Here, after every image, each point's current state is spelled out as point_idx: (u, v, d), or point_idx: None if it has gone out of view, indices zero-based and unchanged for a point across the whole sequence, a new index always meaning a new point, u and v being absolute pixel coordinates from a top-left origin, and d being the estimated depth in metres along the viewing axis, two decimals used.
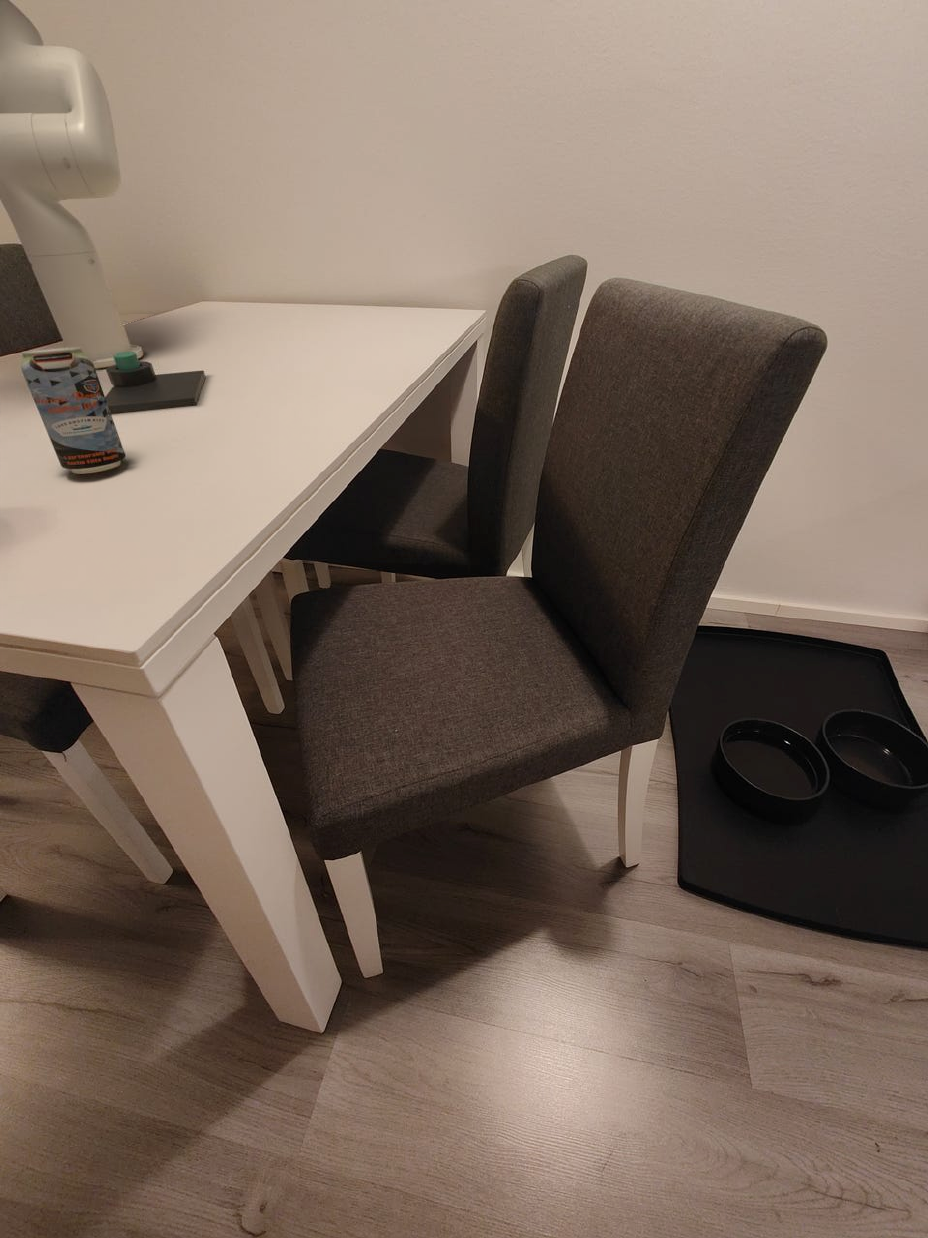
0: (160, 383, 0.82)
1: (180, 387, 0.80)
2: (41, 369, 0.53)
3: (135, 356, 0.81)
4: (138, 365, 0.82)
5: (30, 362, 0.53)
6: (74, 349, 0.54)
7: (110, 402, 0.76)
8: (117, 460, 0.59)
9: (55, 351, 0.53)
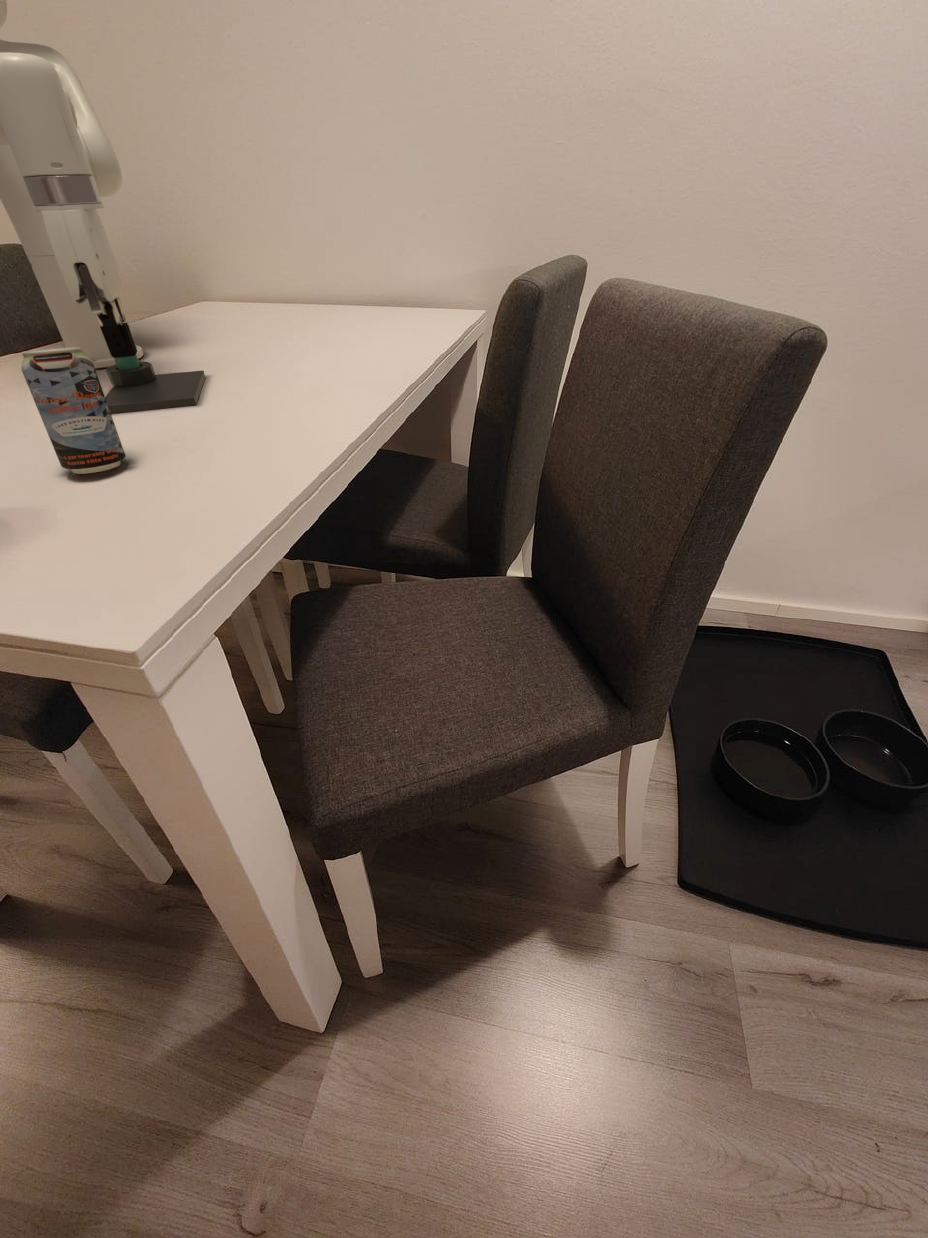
0: (160, 383, 0.82)
1: (180, 387, 0.80)
2: (41, 369, 0.53)
3: (135, 357, 0.81)
4: (138, 366, 0.82)
5: (30, 362, 0.53)
6: (74, 349, 0.54)
7: (110, 402, 0.76)
8: (117, 460, 0.59)
9: (55, 351, 0.53)
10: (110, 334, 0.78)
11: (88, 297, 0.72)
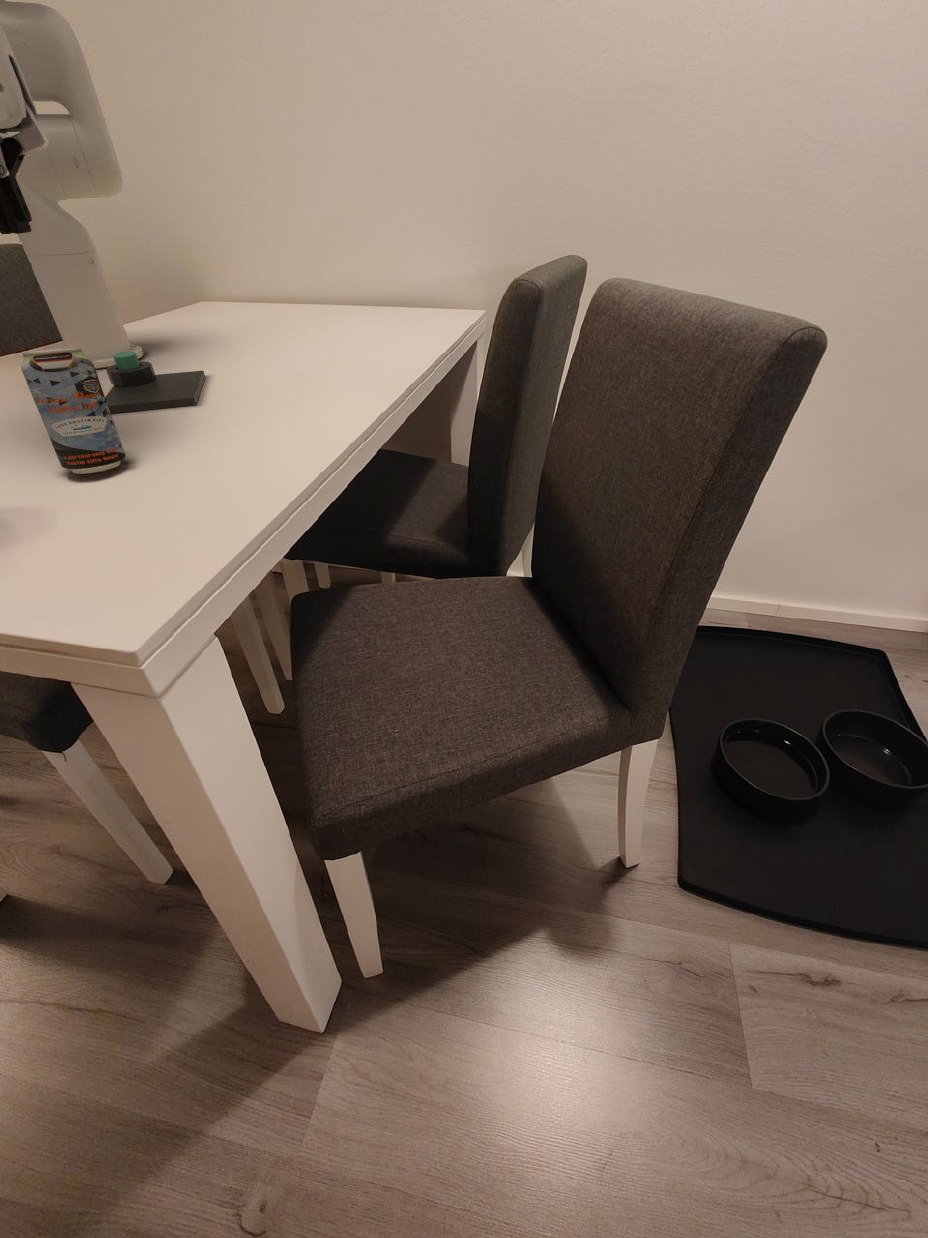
0: (160, 383, 0.82)
1: (180, 387, 0.80)
2: (41, 369, 0.53)
3: (135, 356, 0.81)
4: (138, 365, 0.82)
5: (30, 362, 0.53)
6: (74, 349, 0.54)
7: (110, 402, 0.76)
8: (117, 460, 0.59)
9: (55, 351, 0.53)
10: (15, 190, 0.50)
11: (31, 116, 0.48)
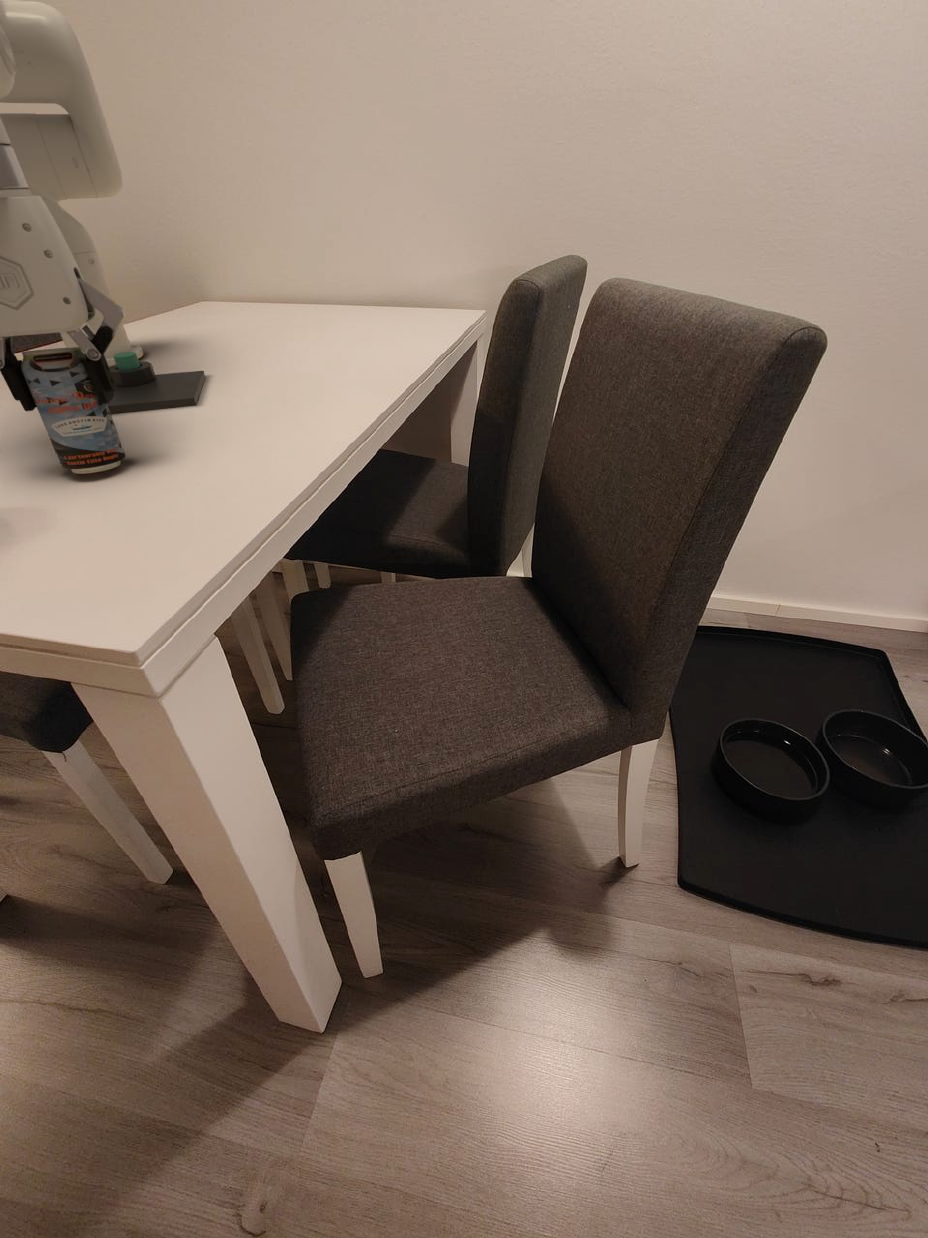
0: (160, 383, 0.82)
1: (180, 387, 0.80)
2: (41, 369, 0.53)
3: (135, 356, 0.81)
4: (138, 365, 0.82)
5: (30, 362, 0.53)
6: (74, 349, 0.54)
7: (110, 402, 0.76)
8: (117, 460, 0.59)
9: (55, 351, 0.53)
10: (105, 368, 0.55)
11: (104, 298, 0.52)
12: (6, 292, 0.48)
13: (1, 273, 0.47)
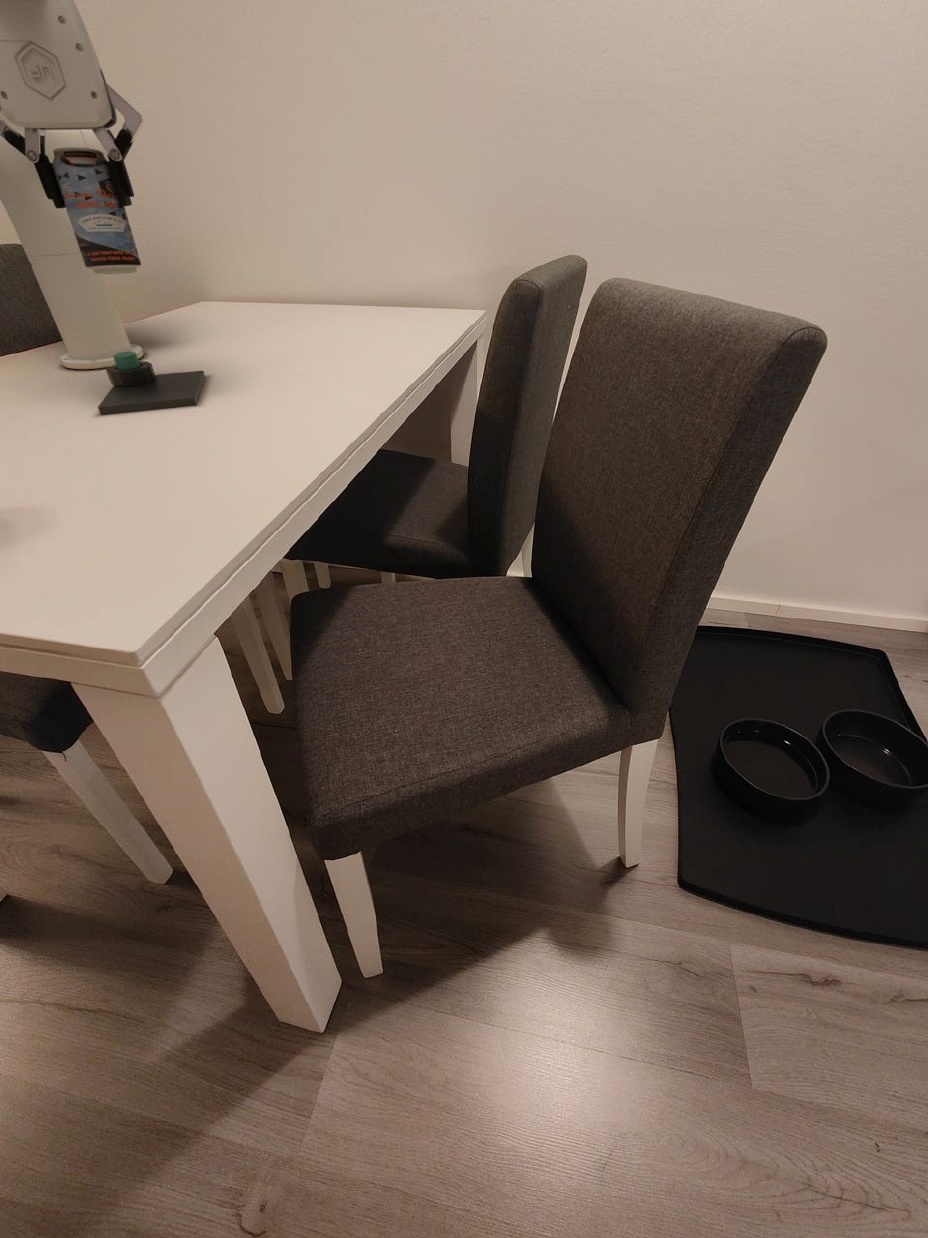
0: (160, 383, 0.82)
1: (180, 387, 0.80)
2: (70, 163, 0.61)
3: (135, 356, 0.81)
4: (138, 365, 0.82)
5: (61, 157, 0.61)
6: (98, 151, 0.62)
7: (110, 402, 0.76)
8: (134, 263, 0.67)
9: (82, 148, 0.61)
10: (124, 171, 0.64)
11: (125, 101, 0.60)
12: (43, 82, 0.57)
13: (39, 63, 0.56)
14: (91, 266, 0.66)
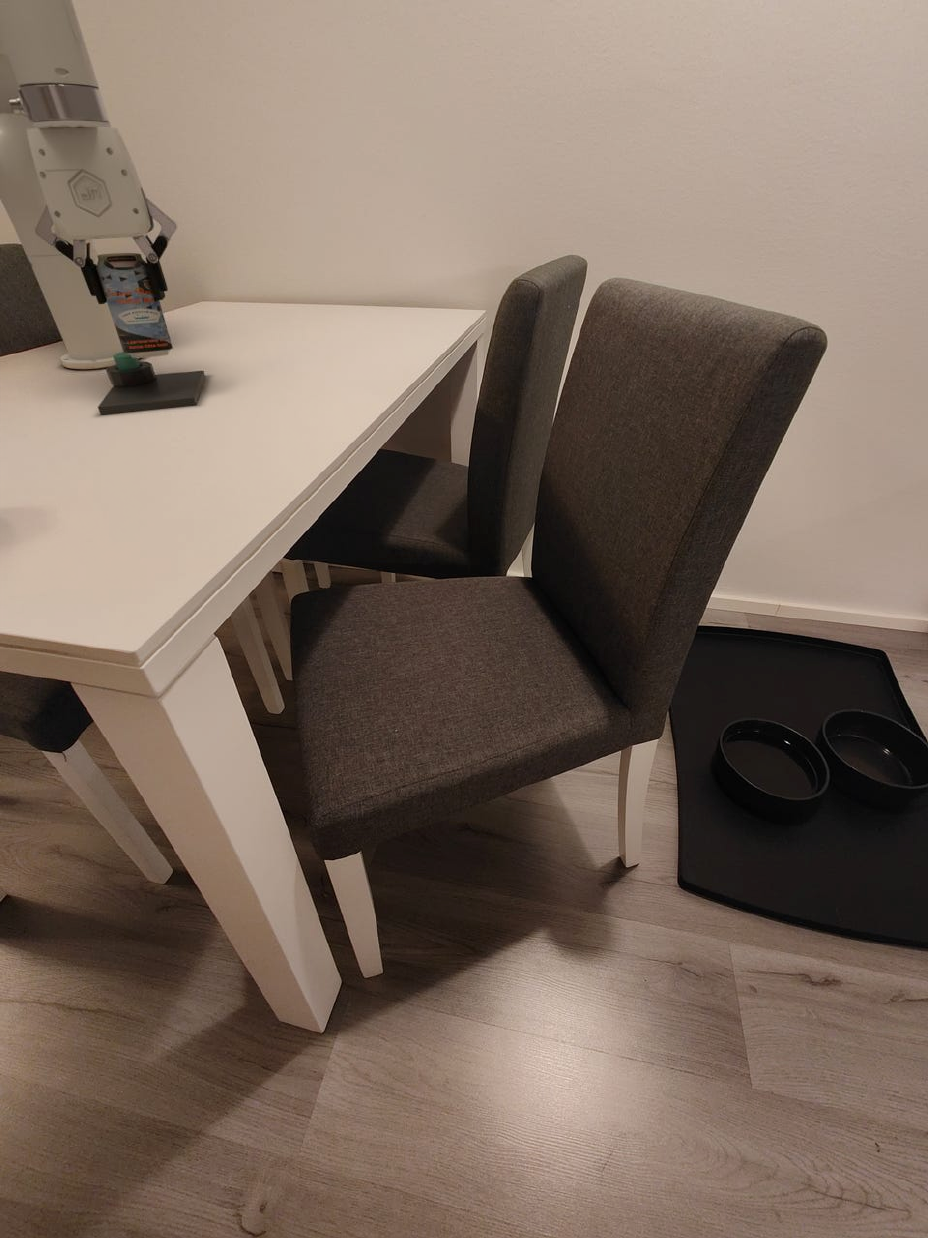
0: (160, 383, 0.82)
1: (180, 387, 0.80)
2: (113, 267, 0.68)
3: None
4: (138, 365, 0.82)
5: (104, 262, 0.68)
6: (137, 254, 0.70)
7: (110, 402, 0.76)
8: (167, 348, 0.75)
9: (123, 253, 0.68)
10: (160, 270, 0.71)
11: (162, 212, 0.68)
12: (91, 202, 0.64)
13: (89, 187, 0.63)
14: (129, 353, 0.73)
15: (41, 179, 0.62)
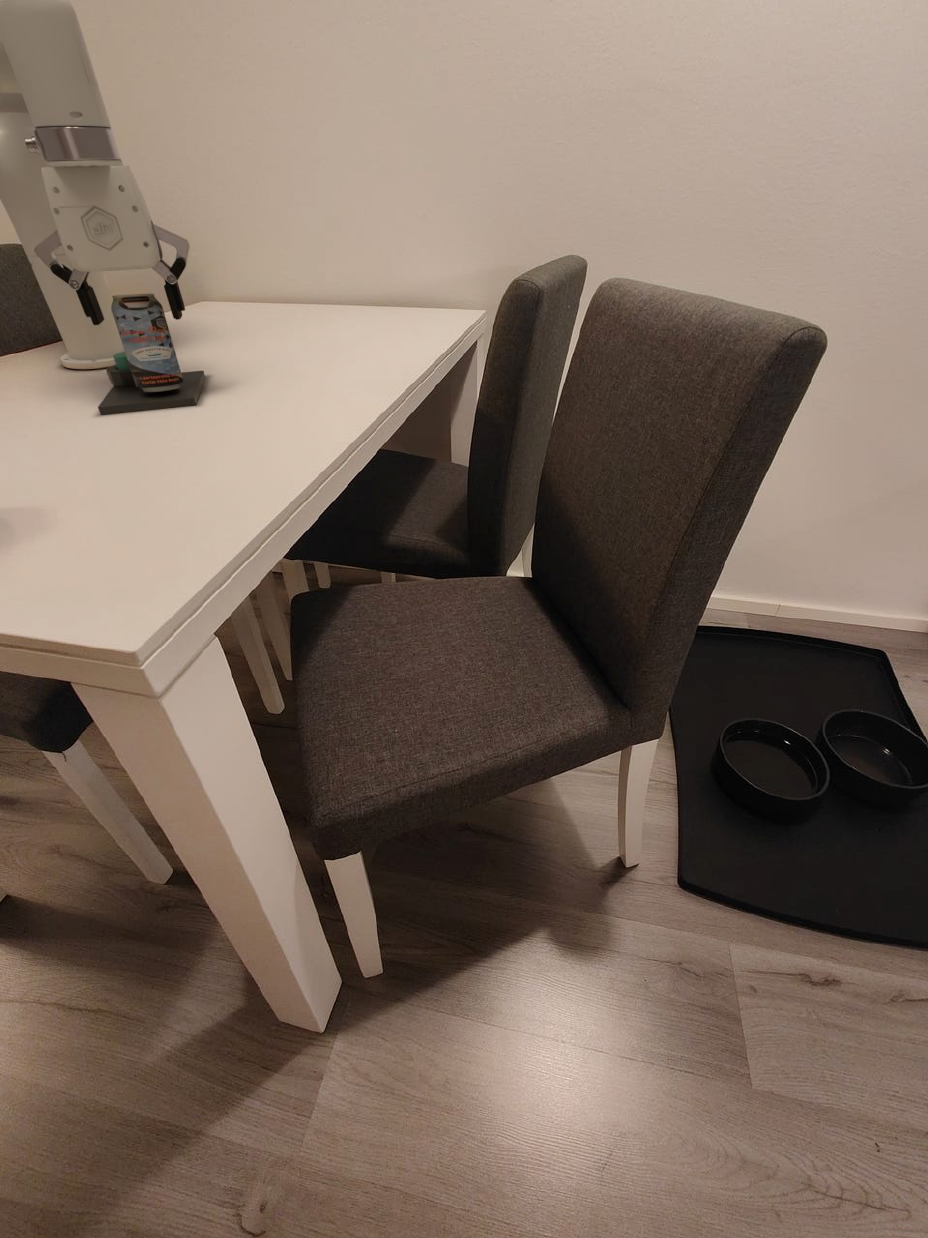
0: None
1: (180, 387, 0.80)
2: (127, 308, 0.71)
3: None
4: None
5: (119, 303, 0.71)
6: (150, 294, 0.72)
7: (110, 402, 0.76)
8: (178, 382, 0.77)
9: (137, 294, 0.71)
10: (178, 291, 0.73)
11: (173, 234, 0.69)
12: (103, 237, 0.66)
13: (101, 222, 0.65)
14: (142, 387, 0.76)
15: (54, 215, 0.64)
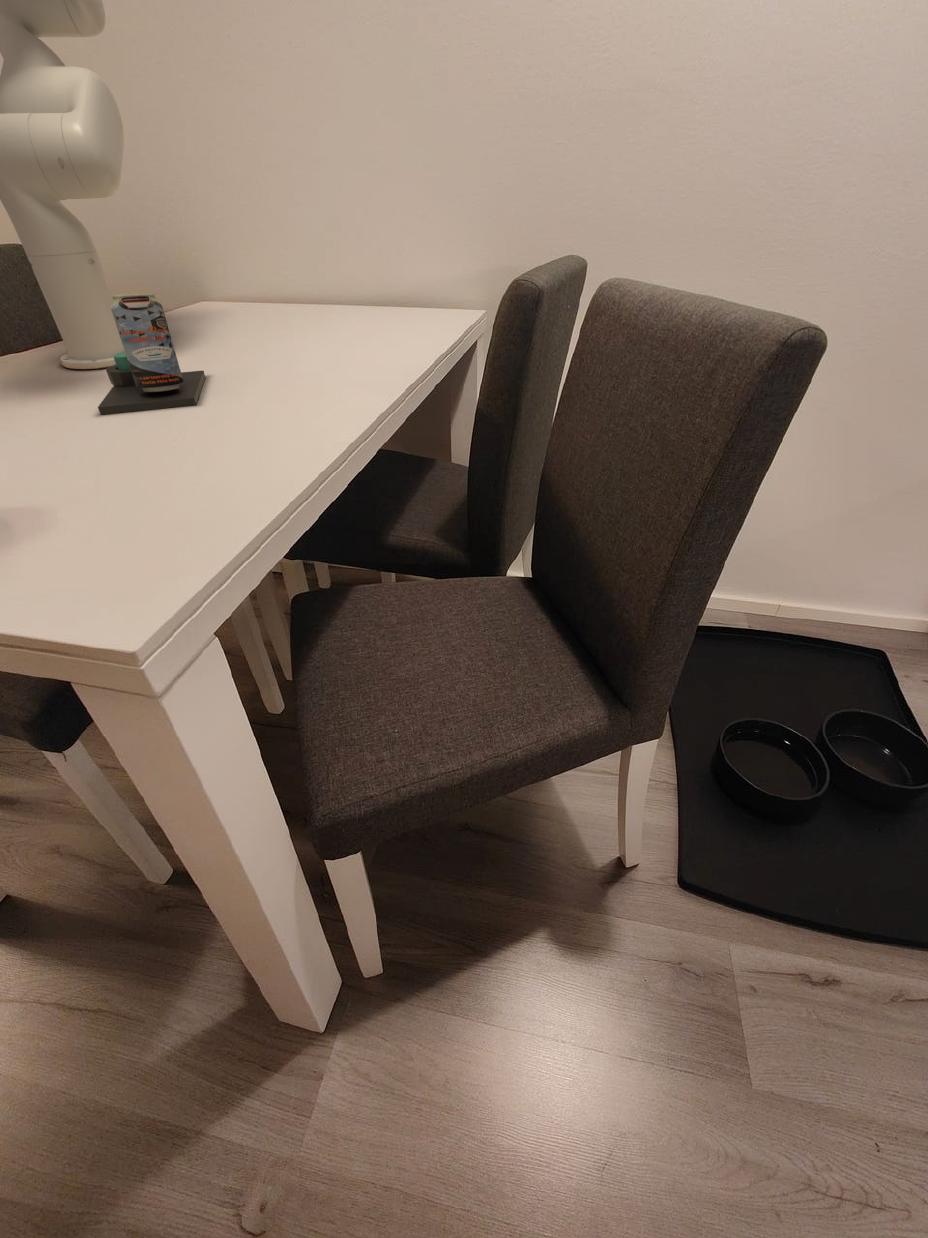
0: None
1: (180, 387, 0.80)
2: (127, 308, 0.71)
3: None
4: None
5: (119, 303, 0.71)
6: (150, 294, 0.72)
7: (110, 402, 0.76)
8: (178, 382, 0.77)
9: (137, 294, 0.71)
10: None
11: None
12: None
13: None
14: (142, 387, 0.76)
15: None
